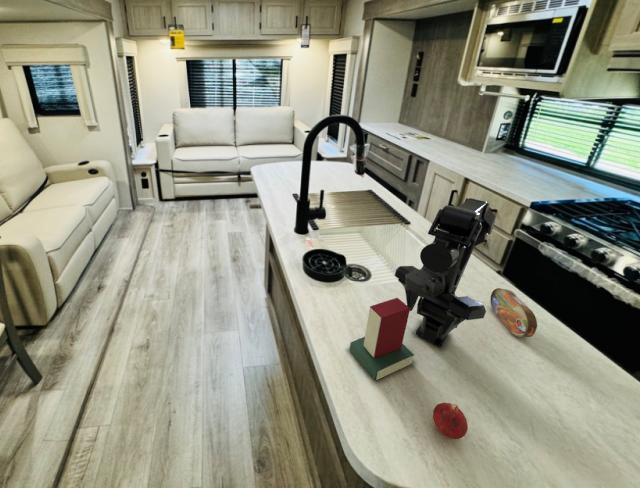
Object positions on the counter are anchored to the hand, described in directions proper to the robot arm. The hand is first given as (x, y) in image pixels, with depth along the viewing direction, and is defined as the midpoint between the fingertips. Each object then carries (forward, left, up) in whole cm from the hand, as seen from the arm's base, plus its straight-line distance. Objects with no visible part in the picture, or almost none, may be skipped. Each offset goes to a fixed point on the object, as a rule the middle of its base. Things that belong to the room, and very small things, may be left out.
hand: (425, 322), depth 74 cm
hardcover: (+5, -7, -13) cm, 16 cm away
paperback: (+5, -7, -10) cm, 13 cm away
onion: (+13, +10, -13) cm, 21 cm away
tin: (-32, +14, -13) cm, 37 cm away
